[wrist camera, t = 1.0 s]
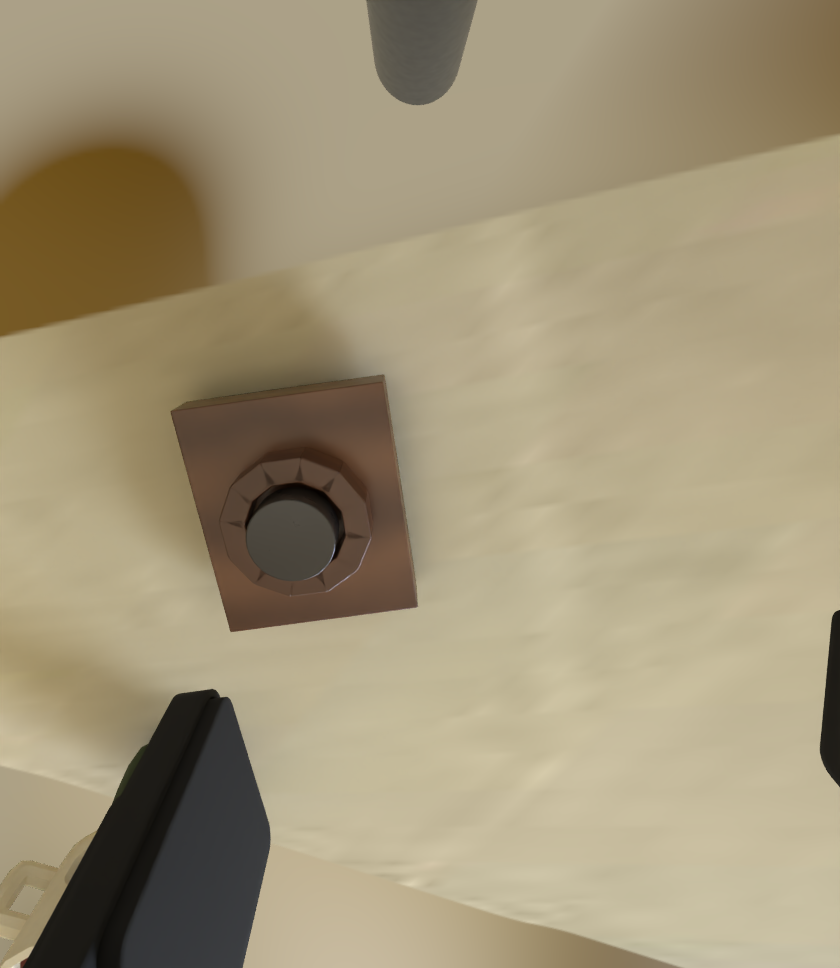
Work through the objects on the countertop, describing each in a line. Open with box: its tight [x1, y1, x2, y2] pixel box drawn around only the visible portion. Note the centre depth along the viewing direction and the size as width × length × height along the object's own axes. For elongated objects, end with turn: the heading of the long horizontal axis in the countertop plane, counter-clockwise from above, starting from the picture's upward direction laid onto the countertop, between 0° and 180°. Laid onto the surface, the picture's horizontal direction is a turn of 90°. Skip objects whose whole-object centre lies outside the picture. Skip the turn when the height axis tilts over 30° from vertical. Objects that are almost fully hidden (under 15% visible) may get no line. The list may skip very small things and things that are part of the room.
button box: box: [171, 375, 418, 632], centre depth 30 cm, size 12×10×4 cm
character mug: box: [0, 744, 148, 968], centre depth 31 cm, size 11×7×13 cm, turn 67°
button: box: [246, 487, 339, 581], centre depth 28 cm, size 4×4×2 cm
